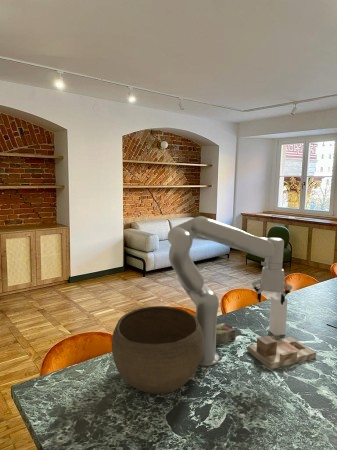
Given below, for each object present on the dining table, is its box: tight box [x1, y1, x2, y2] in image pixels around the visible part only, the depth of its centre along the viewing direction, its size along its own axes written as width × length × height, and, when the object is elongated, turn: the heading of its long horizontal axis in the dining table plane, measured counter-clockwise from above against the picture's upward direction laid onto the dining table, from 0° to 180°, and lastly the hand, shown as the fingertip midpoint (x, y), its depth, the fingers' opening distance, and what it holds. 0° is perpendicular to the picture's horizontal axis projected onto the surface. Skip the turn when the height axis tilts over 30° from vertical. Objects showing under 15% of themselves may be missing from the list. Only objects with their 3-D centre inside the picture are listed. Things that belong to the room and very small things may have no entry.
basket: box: [111, 305, 204, 395], centre depth 130 cm, size 35×35×25 cm
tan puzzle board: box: [247, 335, 317, 370], centre depth 152 cm, size 25×16×5 cm, turn 112°
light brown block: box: [256, 335, 277, 357], centre depth 148 cm, size 6×6×6 cm
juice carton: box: [216, 322, 237, 345], centre depth 165 cm, size 20×10×6 cm, turn 118°
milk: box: [268, 292, 288, 337], centre depth 172 cm, size 6×6×22 cm
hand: (270, 302), depth 151 cm, fingers open, 9 cm apart
